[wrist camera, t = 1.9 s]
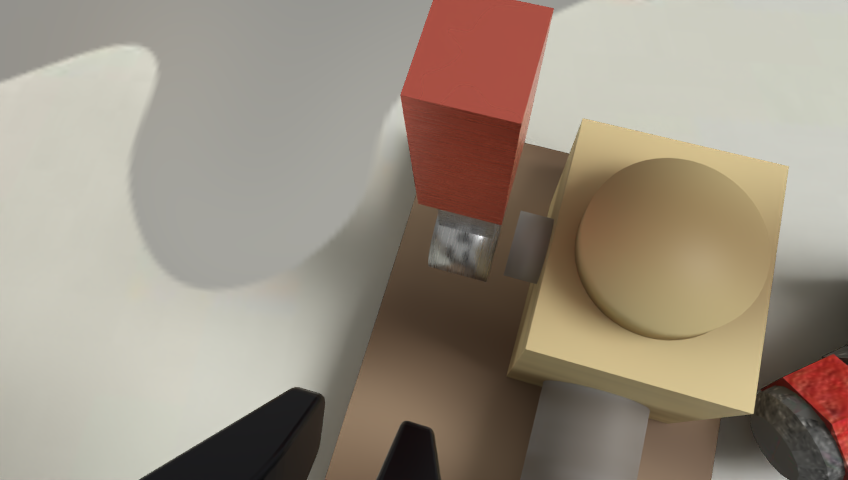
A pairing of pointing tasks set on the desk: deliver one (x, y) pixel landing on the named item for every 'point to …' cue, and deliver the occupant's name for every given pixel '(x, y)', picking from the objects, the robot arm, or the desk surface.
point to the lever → (471, 120)
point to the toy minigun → (806, 420)
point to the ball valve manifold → (581, 320)
